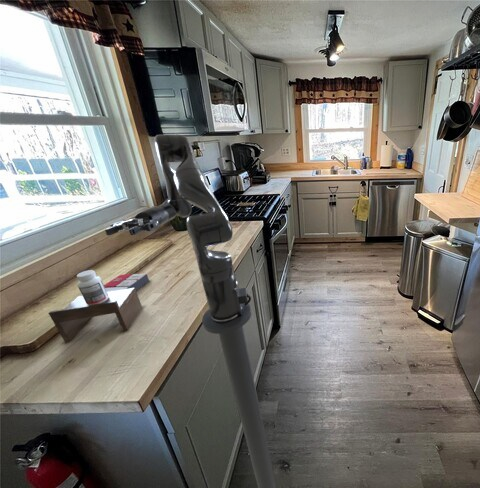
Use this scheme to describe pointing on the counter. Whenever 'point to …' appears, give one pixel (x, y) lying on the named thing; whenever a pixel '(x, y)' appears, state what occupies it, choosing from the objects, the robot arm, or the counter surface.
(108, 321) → the counter surface
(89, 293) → the pill bottle
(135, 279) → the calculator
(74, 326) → the spice shelf
